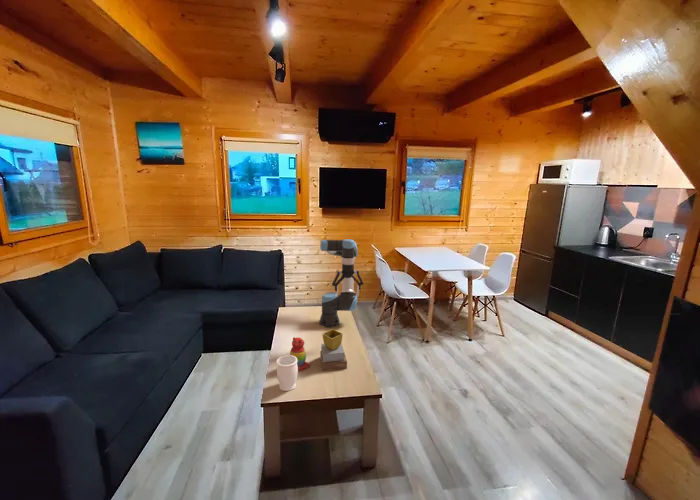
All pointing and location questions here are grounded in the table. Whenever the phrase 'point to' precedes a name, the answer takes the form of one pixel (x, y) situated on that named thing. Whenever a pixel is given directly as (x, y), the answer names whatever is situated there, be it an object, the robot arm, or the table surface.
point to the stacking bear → (299, 353)
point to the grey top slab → (332, 354)
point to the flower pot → (332, 339)
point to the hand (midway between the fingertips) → (347, 295)
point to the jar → (287, 372)
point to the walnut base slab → (333, 364)
